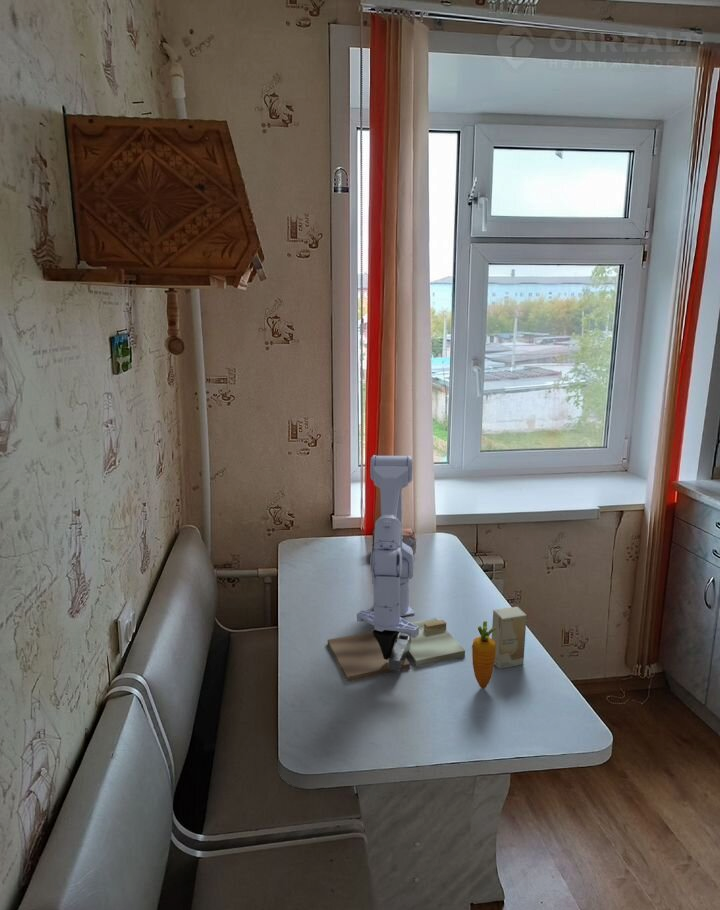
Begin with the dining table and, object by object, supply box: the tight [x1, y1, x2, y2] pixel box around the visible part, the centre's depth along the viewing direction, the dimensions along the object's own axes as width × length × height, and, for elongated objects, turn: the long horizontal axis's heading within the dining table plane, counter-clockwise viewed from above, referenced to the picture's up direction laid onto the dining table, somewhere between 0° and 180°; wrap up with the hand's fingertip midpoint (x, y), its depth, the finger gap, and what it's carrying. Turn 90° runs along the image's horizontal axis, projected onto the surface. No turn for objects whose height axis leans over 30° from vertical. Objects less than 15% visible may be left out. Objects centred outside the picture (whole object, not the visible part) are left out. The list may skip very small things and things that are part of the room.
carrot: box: [471, 620, 496, 690], centre depth 129 cm, size 5×5×15 cm
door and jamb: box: [327, 617, 466, 682], centre depth 145 cm, size 16×28×4 cm, turn 108°
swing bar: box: [389, 633, 410, 672], centre depth 141 cm, size 14×3×3 cm, turn 164°
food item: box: [371, 527, 417, 556], centre depth 199 cm, size 14×8×10 cm, turn 95°
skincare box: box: [491, 606, 527, 669], centre depth 139 cm, size 6×4×12 cm
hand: (387, 657), depth 139 cm, fingers closed
